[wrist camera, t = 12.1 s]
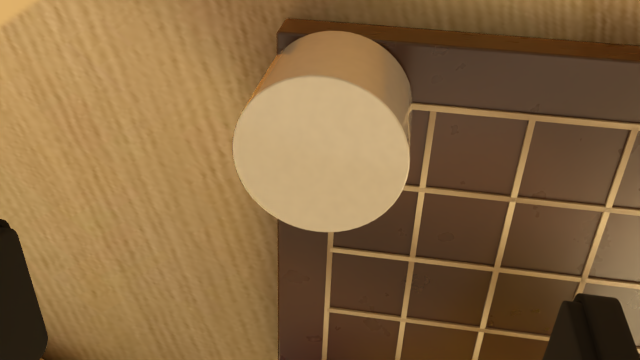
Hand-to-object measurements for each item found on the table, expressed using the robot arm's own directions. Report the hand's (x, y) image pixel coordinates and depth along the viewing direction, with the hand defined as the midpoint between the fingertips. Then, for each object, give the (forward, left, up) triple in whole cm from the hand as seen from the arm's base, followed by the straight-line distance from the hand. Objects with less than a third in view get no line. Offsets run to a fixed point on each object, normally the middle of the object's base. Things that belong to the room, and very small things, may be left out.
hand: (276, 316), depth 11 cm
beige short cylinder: (+1, 0, -10) cm, 10 cm away
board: (+6, +6, -12) cm, 15 cm away
